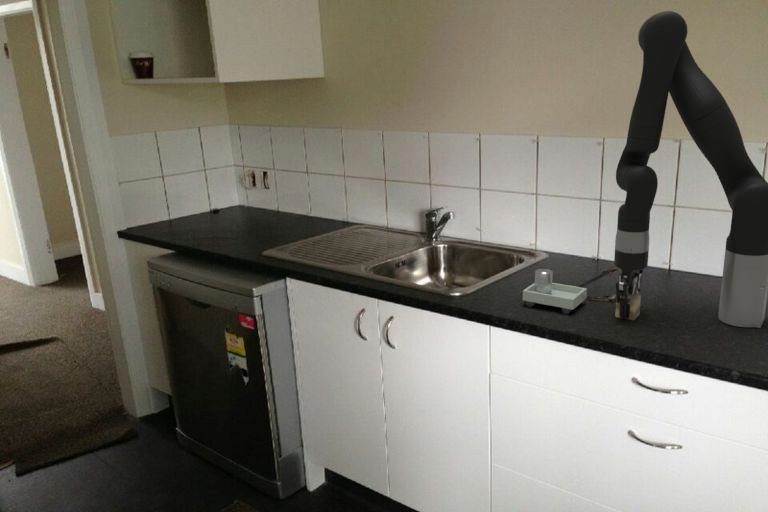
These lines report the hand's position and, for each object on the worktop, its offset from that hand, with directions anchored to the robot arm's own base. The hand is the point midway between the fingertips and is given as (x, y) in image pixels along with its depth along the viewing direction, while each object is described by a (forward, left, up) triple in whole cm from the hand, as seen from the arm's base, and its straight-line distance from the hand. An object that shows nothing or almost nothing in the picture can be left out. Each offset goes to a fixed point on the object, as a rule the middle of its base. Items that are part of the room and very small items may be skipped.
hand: (627, 313), depth 158 cm
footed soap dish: (+18, +2, 0) cm, 18 cm away
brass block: (0, 0, 0) cm, 0 cm away
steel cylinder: (+21, +2, +2) cm, 21 cm away
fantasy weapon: (+10, -20, -1) cm, 22 cm away
